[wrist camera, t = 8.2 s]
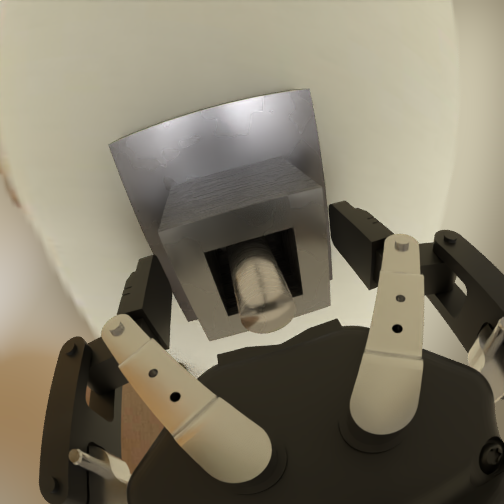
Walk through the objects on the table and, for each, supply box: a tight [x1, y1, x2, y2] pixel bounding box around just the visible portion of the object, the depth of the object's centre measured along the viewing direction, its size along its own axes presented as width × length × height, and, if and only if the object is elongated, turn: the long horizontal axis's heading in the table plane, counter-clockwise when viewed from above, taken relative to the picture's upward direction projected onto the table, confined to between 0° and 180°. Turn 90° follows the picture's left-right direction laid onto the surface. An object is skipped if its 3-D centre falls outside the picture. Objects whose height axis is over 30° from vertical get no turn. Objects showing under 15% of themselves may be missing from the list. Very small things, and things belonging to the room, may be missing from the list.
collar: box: [158, 156, 330, 341], centre depth 12 cm, size 6×6×5 cm
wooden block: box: [86, 383, 164, 474], centre depth 16 cm, size 10×10×20 cm
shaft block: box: [109, 89, 332, 333], centre depth 12 cm, size 12×10×9 cm
